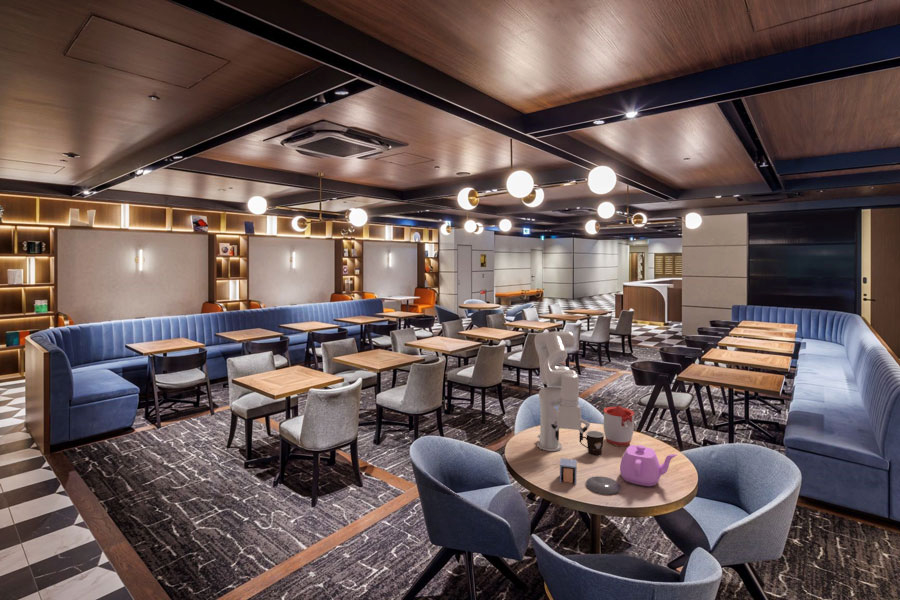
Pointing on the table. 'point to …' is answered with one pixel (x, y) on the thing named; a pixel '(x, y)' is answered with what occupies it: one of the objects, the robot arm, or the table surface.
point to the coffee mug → (594, 442)
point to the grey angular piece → (568, 463)
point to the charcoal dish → (603, 485)
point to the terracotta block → (568, 474)
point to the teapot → (642, 465)
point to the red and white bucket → (618, 425)
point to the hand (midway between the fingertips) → (569, 440)
